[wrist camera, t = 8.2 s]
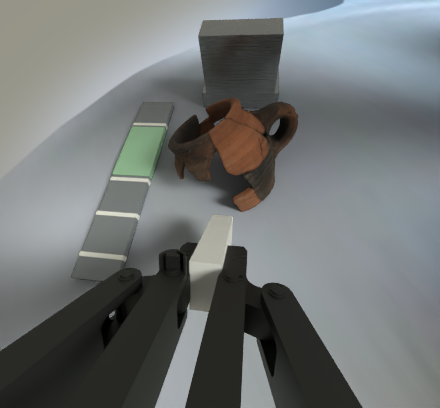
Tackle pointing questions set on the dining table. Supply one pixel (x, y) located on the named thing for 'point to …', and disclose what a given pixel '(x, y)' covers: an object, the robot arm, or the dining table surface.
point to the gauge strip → (124, 196)
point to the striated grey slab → (241, 60)
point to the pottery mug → (236, 145)
